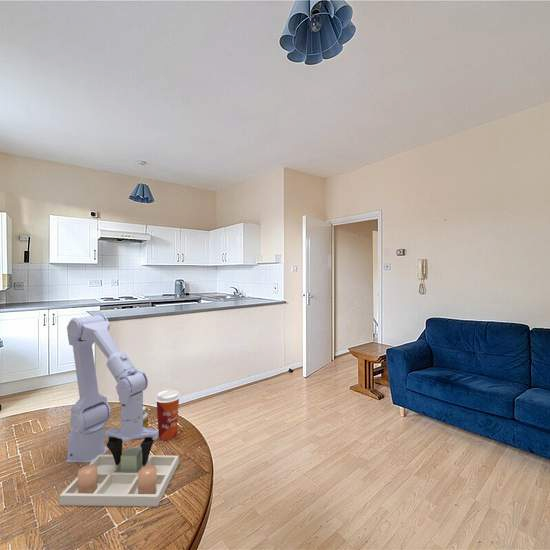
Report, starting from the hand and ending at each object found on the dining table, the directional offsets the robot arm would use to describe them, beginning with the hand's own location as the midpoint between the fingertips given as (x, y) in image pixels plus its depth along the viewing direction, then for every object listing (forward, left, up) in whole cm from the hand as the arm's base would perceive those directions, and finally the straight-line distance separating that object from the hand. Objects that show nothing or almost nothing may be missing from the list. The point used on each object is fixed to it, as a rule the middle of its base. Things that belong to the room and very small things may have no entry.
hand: (131, 463), depth 86 cm
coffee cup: (+3, +21, -4) cm, 21 cm away
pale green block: (0, 0, -3) cm, 3 cm away
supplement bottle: (-7, +21, -4) cm, 22 cm away
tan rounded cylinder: (-8, -8, -3) cm, 11 cm away
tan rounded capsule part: (+8, -8, -3) cm, 11 cm away
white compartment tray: (0, -4, -3) cm, 5 cm away
